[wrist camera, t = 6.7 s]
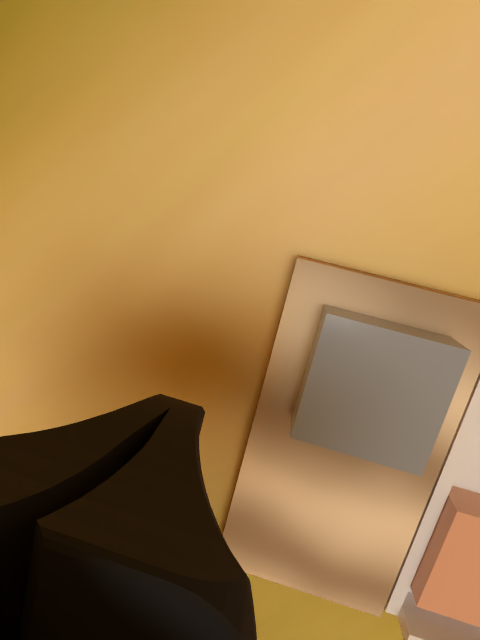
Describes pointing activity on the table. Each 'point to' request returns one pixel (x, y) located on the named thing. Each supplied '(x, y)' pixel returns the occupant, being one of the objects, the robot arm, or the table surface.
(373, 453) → the tile slate
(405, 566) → the tray
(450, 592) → the tile terracotta
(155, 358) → the table surface
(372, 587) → the board
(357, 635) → the table surface
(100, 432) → the robot arm
